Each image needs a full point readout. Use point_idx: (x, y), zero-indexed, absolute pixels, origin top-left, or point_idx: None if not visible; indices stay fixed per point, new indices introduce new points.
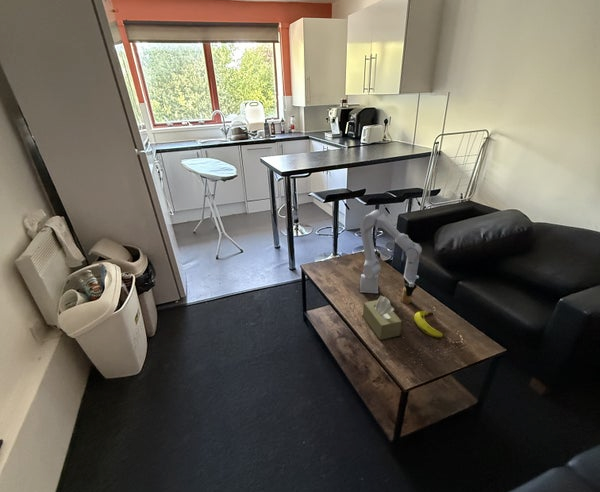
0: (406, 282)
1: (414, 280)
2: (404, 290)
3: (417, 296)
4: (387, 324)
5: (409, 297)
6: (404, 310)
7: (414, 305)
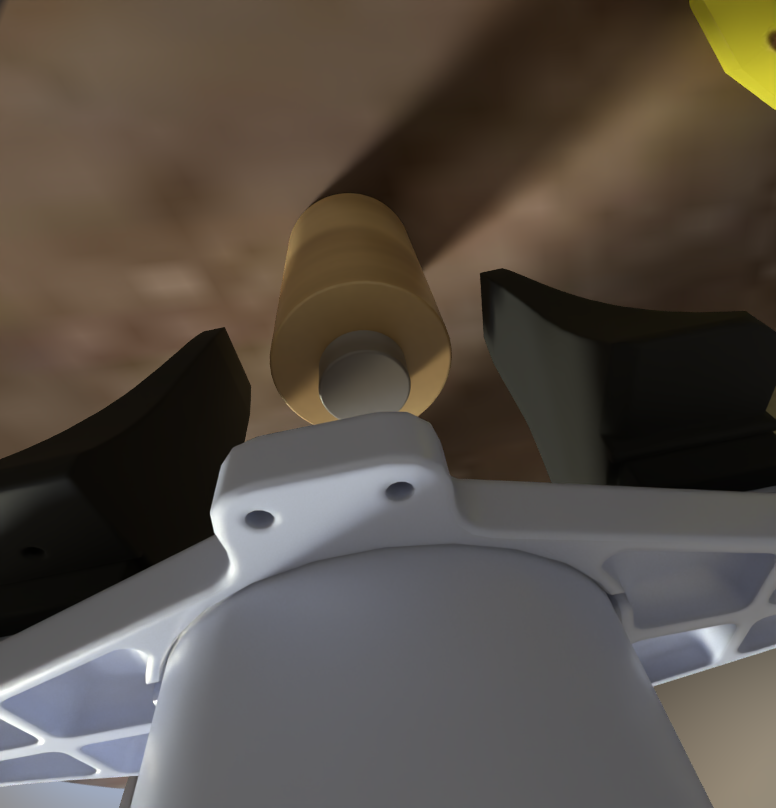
0: (222, 450)
1: (676, 530)
2: (423, 404)
3: (137, 90)
4: None
5: (414, 257)
6: (567, 252)
7: (426, 126)
